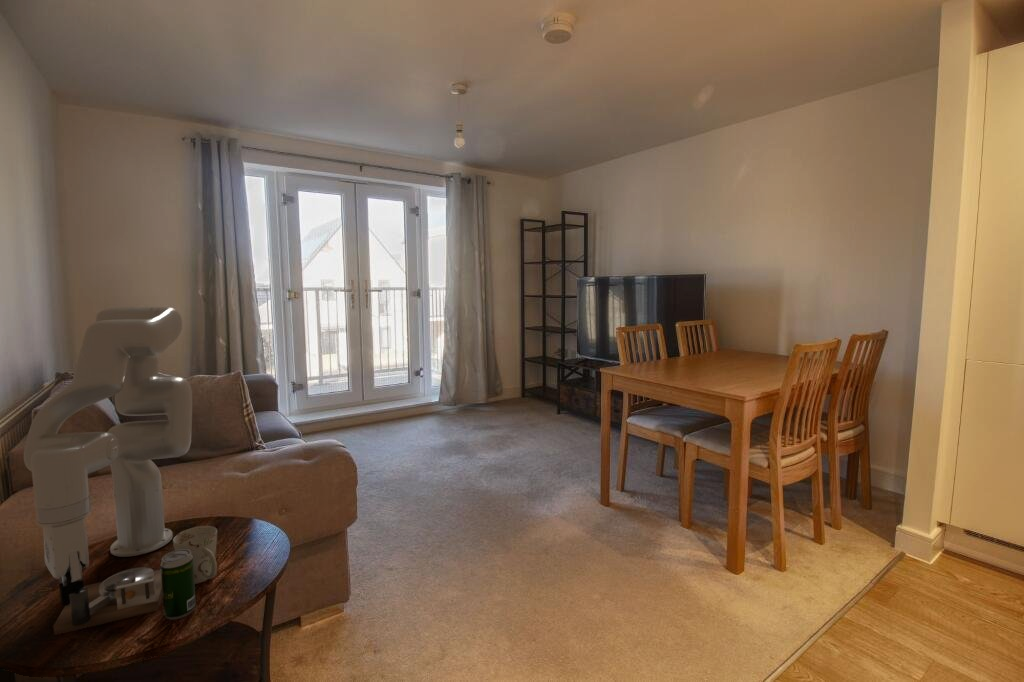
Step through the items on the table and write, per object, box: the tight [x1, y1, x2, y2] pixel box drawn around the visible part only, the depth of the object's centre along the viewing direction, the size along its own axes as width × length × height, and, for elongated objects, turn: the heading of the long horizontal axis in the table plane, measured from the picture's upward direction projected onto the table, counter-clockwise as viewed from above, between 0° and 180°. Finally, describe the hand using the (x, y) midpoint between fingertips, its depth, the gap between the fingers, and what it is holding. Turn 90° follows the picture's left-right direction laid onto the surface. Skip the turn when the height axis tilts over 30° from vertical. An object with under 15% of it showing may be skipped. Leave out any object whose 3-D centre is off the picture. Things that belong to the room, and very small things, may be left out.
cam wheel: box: [69, 566, 155, 626], centre depth 98 cm, size 15×9×6 cm, turn 171°
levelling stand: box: [53, 569, 163, 636], centre depth 100 cm, size 14×16×6 cm
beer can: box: [160, 549, 197, 621], centre depth 98 cm, size 5×5×12 cm
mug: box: [172, 525, 218, 585], centre depth 109 cm, size 8×13×10 cm, turn 60°
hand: (72, 600), depth 94 cm, fingers closed
